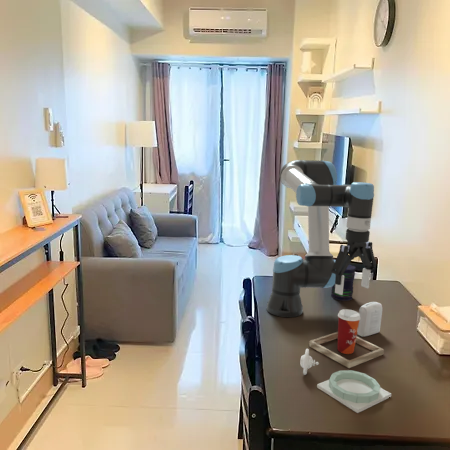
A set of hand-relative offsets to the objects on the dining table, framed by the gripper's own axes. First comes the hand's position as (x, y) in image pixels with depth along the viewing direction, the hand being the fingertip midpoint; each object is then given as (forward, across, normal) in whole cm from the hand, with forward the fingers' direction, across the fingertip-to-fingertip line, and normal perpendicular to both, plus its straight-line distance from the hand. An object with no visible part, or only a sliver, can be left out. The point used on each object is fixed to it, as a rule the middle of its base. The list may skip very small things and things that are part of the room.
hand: (352, 290), depth 157 cm
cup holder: (+22, -19, -19) cm, 35 cm away
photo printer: (+22, +19, +5) cm, 30 cm away
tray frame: (+22, 0, 0) cm, 22 cm away
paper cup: (+22, 0, 0) cm, 23 cm away
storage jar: (+22, +41, +37) cm, 60 cm away
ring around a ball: (+23, -23, -4) cm, 32 cm away
